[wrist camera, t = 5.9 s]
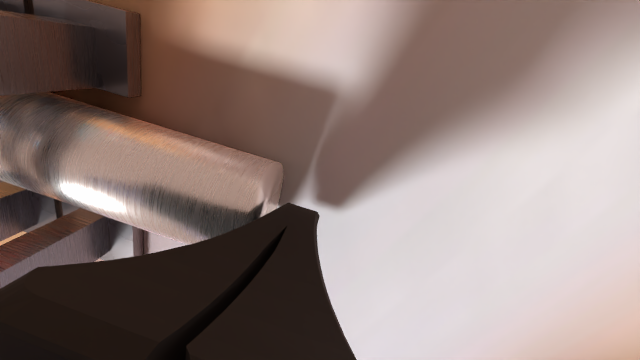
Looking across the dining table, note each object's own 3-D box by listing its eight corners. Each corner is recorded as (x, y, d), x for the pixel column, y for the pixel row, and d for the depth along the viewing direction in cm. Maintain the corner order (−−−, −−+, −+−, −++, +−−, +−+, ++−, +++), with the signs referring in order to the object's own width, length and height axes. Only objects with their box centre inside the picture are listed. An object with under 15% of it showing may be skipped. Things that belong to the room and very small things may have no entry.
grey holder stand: (139, 13, 10) (-174, -51, 4) (143, 263, 14) (-12, 390, 9) (49, -10, 10) (-347, -97, 5) (79, 240, 15) (-109, 348, 9)
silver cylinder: (290, 162, 11) (262, 160, 8) (265, 247, 12) (227, 283, 8) (-13, 69, 13) (-152, 33, 9) (-28, 148, 13) (-169, 142, 10)
